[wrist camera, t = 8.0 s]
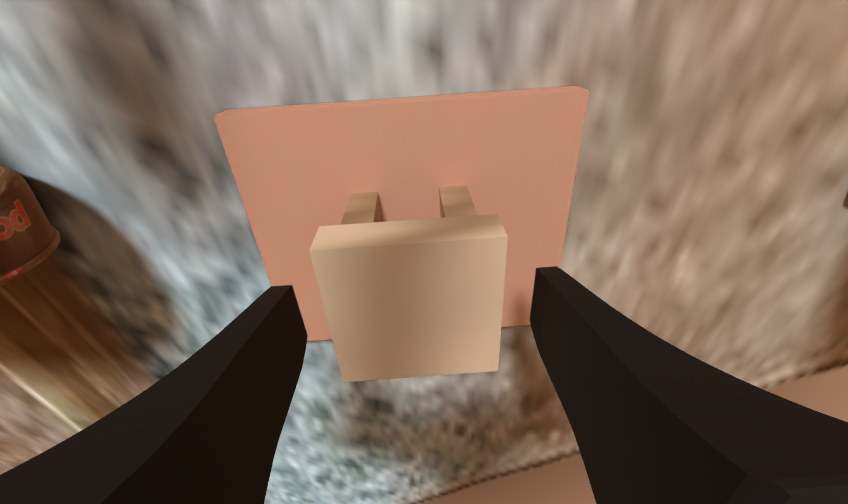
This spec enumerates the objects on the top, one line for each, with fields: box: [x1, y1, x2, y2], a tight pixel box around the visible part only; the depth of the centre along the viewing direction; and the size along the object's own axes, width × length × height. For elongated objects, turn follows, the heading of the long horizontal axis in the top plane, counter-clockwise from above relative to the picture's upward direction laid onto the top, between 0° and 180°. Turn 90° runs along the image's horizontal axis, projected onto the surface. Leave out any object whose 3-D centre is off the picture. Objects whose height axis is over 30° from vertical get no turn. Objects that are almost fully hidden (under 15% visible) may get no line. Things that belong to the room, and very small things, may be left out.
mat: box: [213, 86, 590, 341], centre depth 15 cm, size 12×10×1 cm
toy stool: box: [309, 185, 508, 382], centre depth 13 cm, size 5×5×4 cm
